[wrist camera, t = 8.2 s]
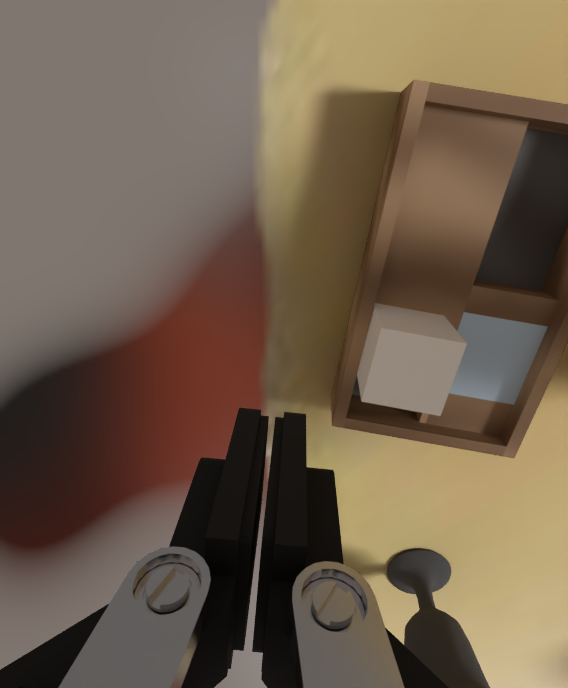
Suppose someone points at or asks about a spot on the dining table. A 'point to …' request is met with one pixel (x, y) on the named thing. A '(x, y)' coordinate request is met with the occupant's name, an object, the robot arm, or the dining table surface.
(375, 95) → the dining table surface
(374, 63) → the dining table surface
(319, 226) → the dining table surface
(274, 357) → the dining table surface
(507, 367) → the bay
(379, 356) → the block
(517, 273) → the tray
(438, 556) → the sundae
